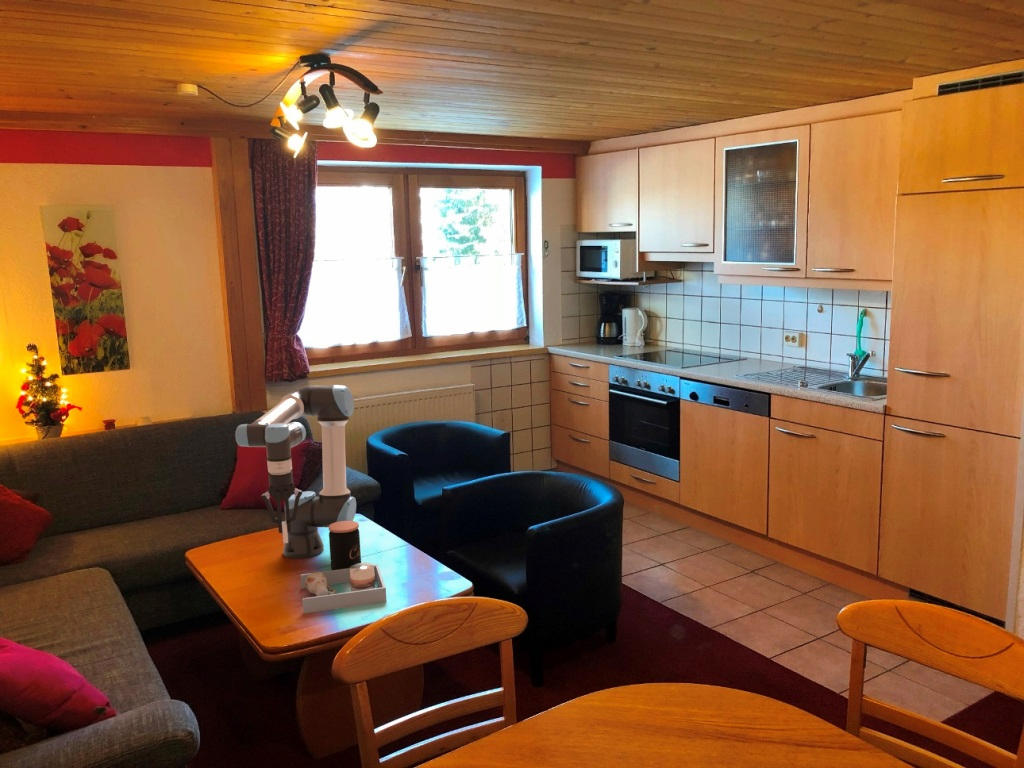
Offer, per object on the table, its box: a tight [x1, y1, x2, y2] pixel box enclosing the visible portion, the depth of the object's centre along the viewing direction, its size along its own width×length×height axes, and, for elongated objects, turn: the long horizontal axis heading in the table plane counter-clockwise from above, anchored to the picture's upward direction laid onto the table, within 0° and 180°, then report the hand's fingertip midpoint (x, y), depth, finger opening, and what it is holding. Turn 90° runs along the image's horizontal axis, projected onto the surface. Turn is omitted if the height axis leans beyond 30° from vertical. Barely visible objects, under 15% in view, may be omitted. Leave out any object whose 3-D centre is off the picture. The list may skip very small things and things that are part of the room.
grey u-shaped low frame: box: [299, 564, 387, 615], centre depth 273 cm, size 22×26×5 cm
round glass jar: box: [349, 562, 376, 592], centre depth 275 cm, size 8×8×9 cm
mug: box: [305, 571, 336, 597], centre depth 273 cm, size 8×10×10 cm
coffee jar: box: [327, 520, 362, 571], centre depth 291 cm, size 11×11×18 cm
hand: (285, 541), depth 267 cm, fingers closed
